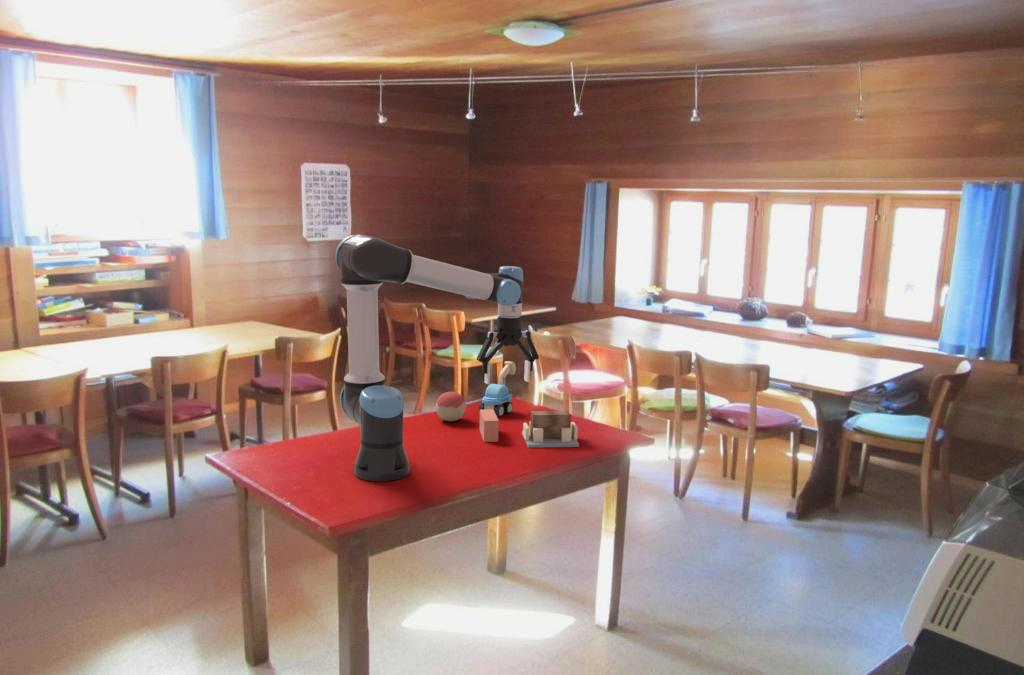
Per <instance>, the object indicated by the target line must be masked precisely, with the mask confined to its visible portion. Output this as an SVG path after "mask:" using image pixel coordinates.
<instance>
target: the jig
mask: <svg viewBox="0 0 1024 675" xmlns="http://www.w3.org/2000/svg"><path fill="white" fill-rule="evenodd" d="M528 424H529V425H528ZM530 426H531V420H530V421H529V423H527V422H523V423H522V431H521V435H522V437H523V440H524V441H525V444H526V446H527V448H533V449H534V448H575V447H576V448H579V447H580V443H579V442H578V433H579V432H578V431H579V427H578V425H577V424H576V423H575V422H574V421H571V422H570V428H561V439H543V428H533V440H532V438H531V436H530Z"/></svg>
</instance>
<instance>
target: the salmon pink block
mask: <svg viewBox="0 0 1024 675" xmlns="http://www.w3.org/2000/svg"><path fill="white" fill-rule="evenodd" d="M499 425H500V424H499V418H498V416H496V414H495V412H494V410H493V409H483V410H480V412H479V432H480V435H481V438H482V441H483V443H492V442H493V443H496V442H498V443H499Z"/></svg>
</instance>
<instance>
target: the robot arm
mask: <svg viewBox="0 0 1024 675" xmlns="http://www.w3.org/2000/svg"><path fill="white" fill-rule="evenodd" d="M334 254H335V257H334V259H335V262H336V265H337V267H338V269H339V270H340V284H341V286H343V288H344V289H345V290H346V312H347V315H346V316H347V345H348V346H347V347H348V348H347V349H348V373H347V374H345V375H344V377H343V387H342V388H341V390H340V394H339V404H340V406H341V409H342V410H343V412H344V414H345V415H346V416H347V417H348V418H349V419H350V420H351V421H352V420H353V421H354V422H355V423H356V424H358V426H359V428H360V447H359V450H358V452H357V453H358V454H357V455H356V458H355V463H354V466H353V467H354V469H353V470H354V471H353V472H354V473H353V474H354V475H355V477H357V478H358V479H361V480H365V481H369V482H370V481H371V482H389V481H396V480H399V479H402V478H405V477H406V476H408V475H409V474H410V461H409V458H408V455H407V453H406V450H405V447H404V407H405V404H404V398H403V397H404V396H403V394H402V392H401V391H400V390H399V389H397V388H395V387H394V386H388V385H386V381H385V380H386V379H385V378H386V377H385V375H384V374H383V373H381V371H380V347H379V344H380V343H379V341H380V340H379V339H380V338H379V337H380V336H379V300H378V299H379V295H378V293H379V288H380V287H381V286H382V285H383V284H384V282H387V283H394V284H399V285H403V284H405V283H411V284H414V285H419V286H422V287H423V286H424V287H427V288H431V289H436V290H440V291H445V292H449V293H453V294H457V295H461V296H464V297H465V298H467V299H470V300H477V299H479V300H483V301H486V302H490V303H491V302H492V303H494V304H497V315H498V316H497V318H496V319H497V322H496V323H497V325H496V326H497V327H496V328H497V329H496V332H495V331H492V332H491V330H489V331H487V333H486V339H485V340H484V342H483V345H482V347H481V349H480V350H479V352H478V355H477V356H476V360H477V361H478V362H479V363H481V364H482V365H481V366H482V367H481V372H482V373H483V374H484V384H486V385H490V384H491V363H490V361H491V360H492V359H493V357H494V356H495V355H496V353H498V351H499V350H500V349H501V348H502V347H508V346H511V347H514V346H517V348H518V349H519V350H520V352H521V354H523V356H524V357H525V358H526V360H524V369H523V370H524V372H523V373H524V374H523V380H524V382H527V383H530V382H531V381H530V378H531V372H532V371H533V368H534V367H533V366H534V363H535V360H539V358H540V356H539V354H538V352H537V350H536V346H535V345H534V342H533V340H532V336H531V332H530V331H528V330H527V329H524V330H523V331H522V317H521V316H522V315H523V314H522V312H523V290H524V288H523V287H524V270H523V268H522V267H519V266H514V265H512V266H510V265H503V266H500V267H499V269H498V272H497V273H496V272H495V273H485V272H480V271H478V270H475V269H469V268H466V267H463V266H458V265H454V264H450V263H447V262H443V261H440V260H435V259H433V258H431V259H430V258H427V257H423V256H419V255H416V254H413V251H411V250H410V249H408V248H404V247H401V246H398V245H395V244H393V243H390V242H388V241H386V240H384V239H381V238H379V237H375V236H369V235H366V234H360V233H359V234H352V235H348V236H347V237H345V238H343V239H342V240H341V241H340V242H339V243H338V246H337V247H336V250H335V253H334ZM521 337H523V338H524V340H525V343H526V345H527V347H528V349H529V351H528V350H527V348H526V347H525V346H524V345H523V343H522V341H521V340H520V339H521ZM495 338H497V340H496V341H495V342H494V344H493V341H494V340H495ZM492 344H493V345H492ZM491 345H492V347H491ZM490 347H491V348H490Z"/></svg>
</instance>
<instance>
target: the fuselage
mask: <svg viewBox="0 0 1024 675" xmlns="http://www.w3.org/2000/svg"><path fill="white" fill-rule="evenodd" d="M571 416H572V415H571V413H570V412H569V410H531V411H530V421H531V426H530V436H531V438H532V440H533V428H543V439H561V428H571V422H572V421H571V418H572V417H571Z"/></svg>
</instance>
